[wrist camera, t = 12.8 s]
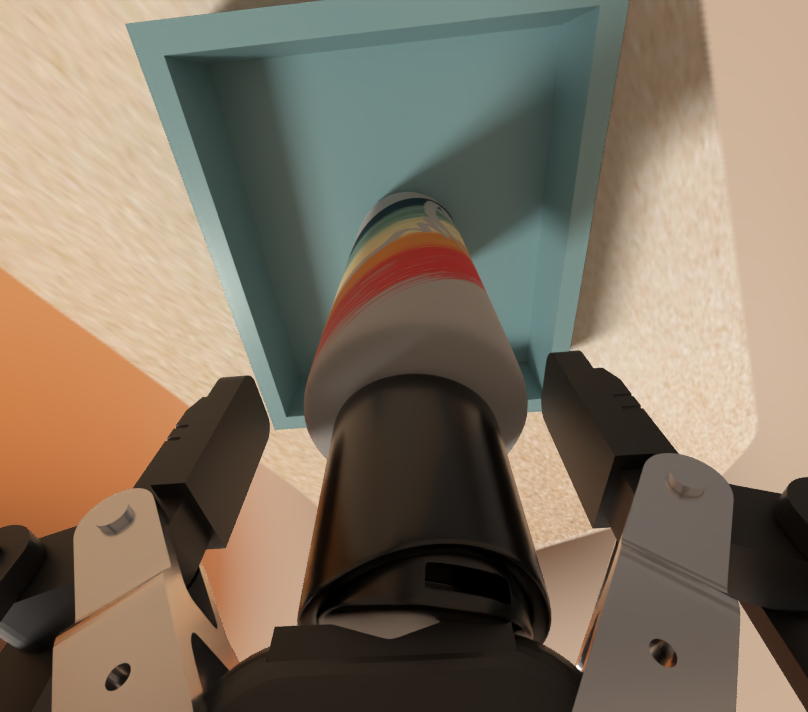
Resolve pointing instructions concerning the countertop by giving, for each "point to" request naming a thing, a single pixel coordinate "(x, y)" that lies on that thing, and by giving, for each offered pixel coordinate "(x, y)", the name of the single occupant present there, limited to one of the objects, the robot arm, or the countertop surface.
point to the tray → (387, 153)
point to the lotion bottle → (417, 441)
